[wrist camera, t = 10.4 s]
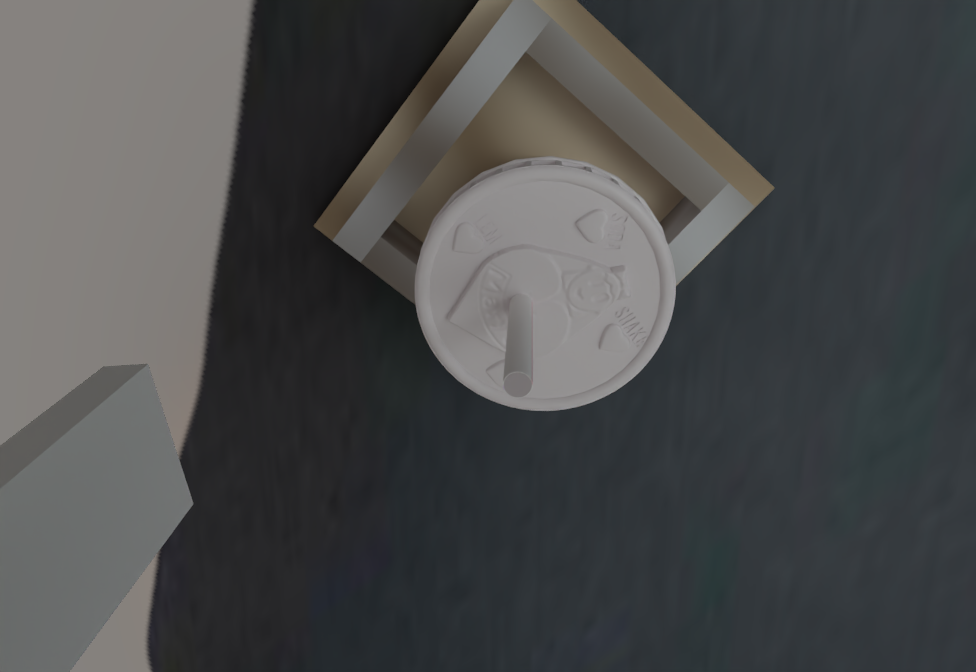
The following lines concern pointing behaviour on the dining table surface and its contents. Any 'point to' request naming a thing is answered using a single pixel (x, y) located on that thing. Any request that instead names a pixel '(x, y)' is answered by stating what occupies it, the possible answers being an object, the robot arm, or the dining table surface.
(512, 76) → the tray
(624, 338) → the smoothie
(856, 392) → the dining table surface
